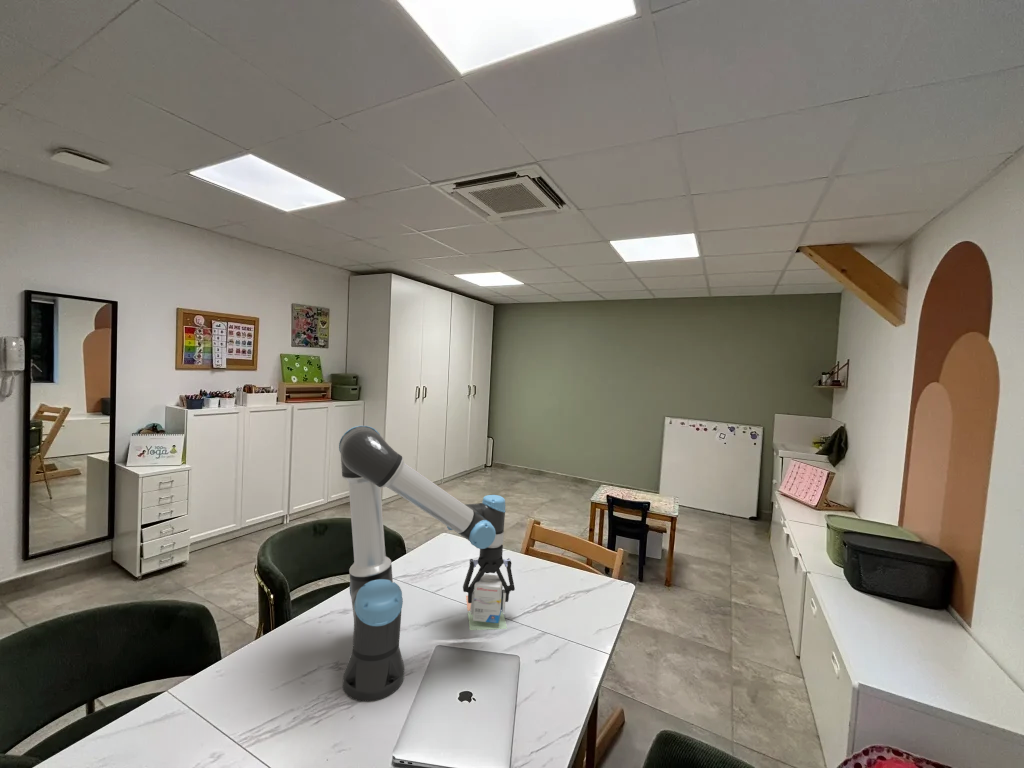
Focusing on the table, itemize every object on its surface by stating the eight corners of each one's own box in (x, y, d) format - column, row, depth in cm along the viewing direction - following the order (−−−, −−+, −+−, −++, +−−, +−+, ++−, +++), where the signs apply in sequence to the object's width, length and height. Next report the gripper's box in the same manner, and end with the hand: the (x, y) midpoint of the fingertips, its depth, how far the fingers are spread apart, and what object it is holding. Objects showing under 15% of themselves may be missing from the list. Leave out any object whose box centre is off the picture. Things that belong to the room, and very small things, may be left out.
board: (510, 633, 129) (510, 629, 129) (466, 635, 127) (466, 631, 127) (500, 597, 151) (500, 593, 151) (462, 598, 148) (463, 594, 149)
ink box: (501, 609, 137) (503, 574, 137) (498, 624, 129) (500, 587, 129) (476, 606, 138) (478, 572, 138) (472, 620, 130) (474, 584, 130)
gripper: (522, 539, 139) (518, 604, 139) (457, 539, 135) (453, 606, 135) (527, 548, 132) (522, 617, 132) (458, 548, 128) (453, 619, 128)
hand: (487, 611), depth 133 cm, fingers closed on ink box, 10 cm apart
